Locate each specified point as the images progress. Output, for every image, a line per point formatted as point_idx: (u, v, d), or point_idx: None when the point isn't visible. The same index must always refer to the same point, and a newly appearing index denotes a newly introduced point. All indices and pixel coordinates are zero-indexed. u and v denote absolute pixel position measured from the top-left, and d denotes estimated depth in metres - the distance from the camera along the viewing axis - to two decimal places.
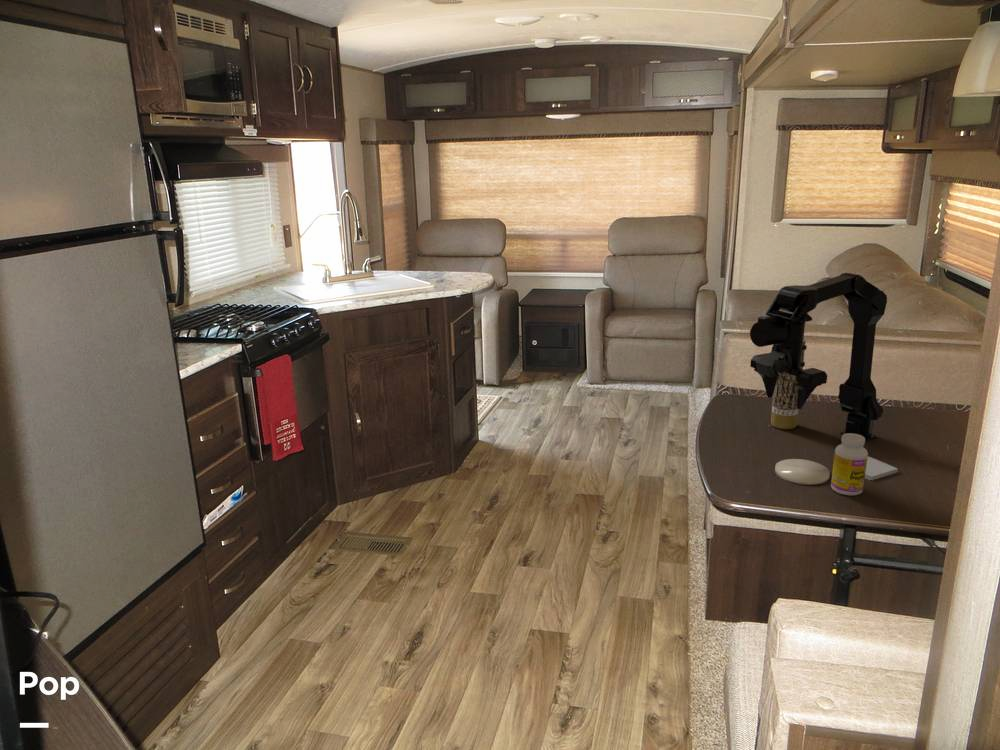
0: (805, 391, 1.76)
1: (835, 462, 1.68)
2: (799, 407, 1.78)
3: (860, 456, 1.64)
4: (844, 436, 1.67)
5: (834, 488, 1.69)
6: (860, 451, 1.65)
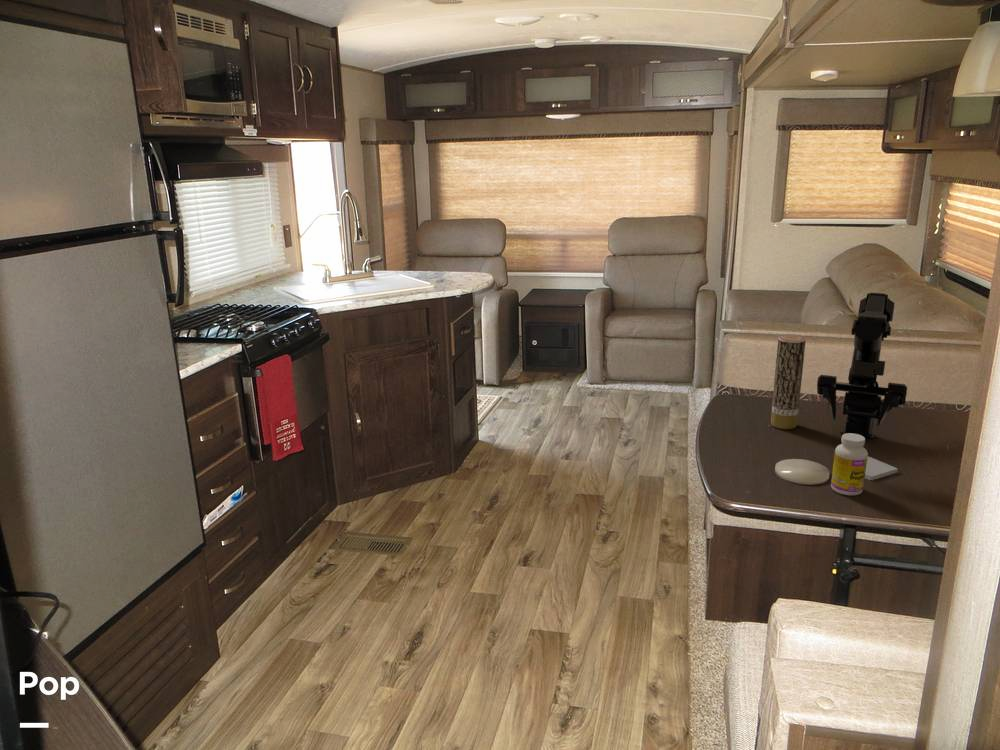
0: None
1: (835, 462, 1.68)
2: (880, 423, 1.71)
3: (860, 456, 1.64)
4: (844, 436, 1.67)
5: (834, 488, 1.69)
6: (860, 451, 1.65)
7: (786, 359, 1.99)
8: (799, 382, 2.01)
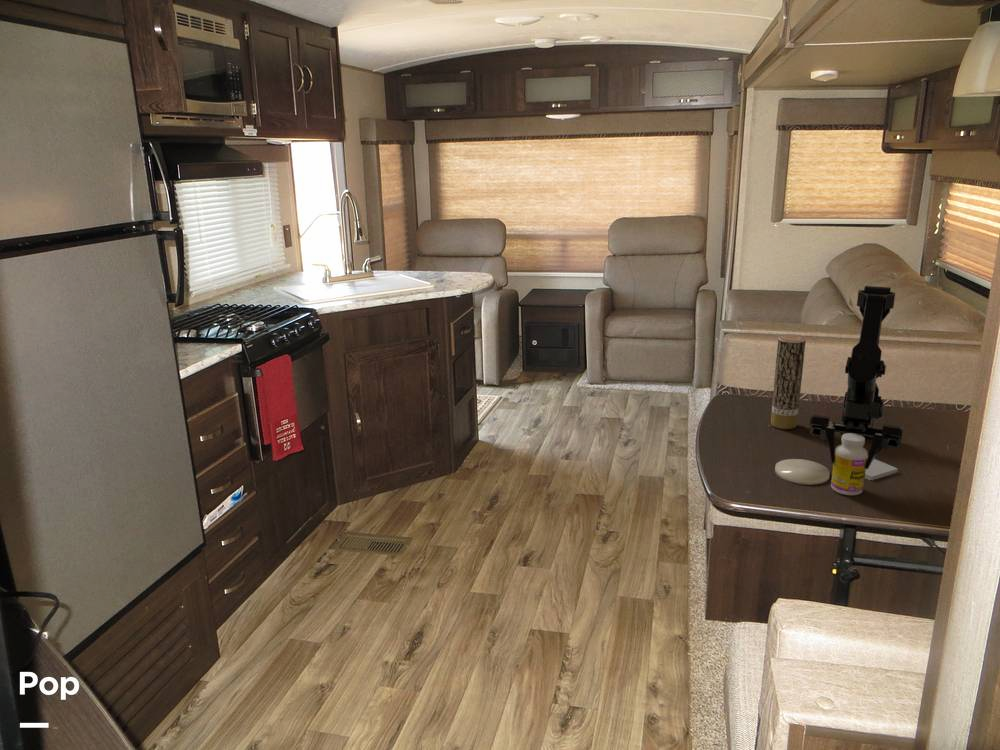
0: None
1: (835, 462, 1.68)
2: (868, 466, 1.65)
3: (860, 456, 1.64)
4: (844, 436, 1.67)
5: (834, 488, 1.69)
6: (860, 451, 1.65)
7: (786, 359, 1.99)
8: (799, 382, 2.01)
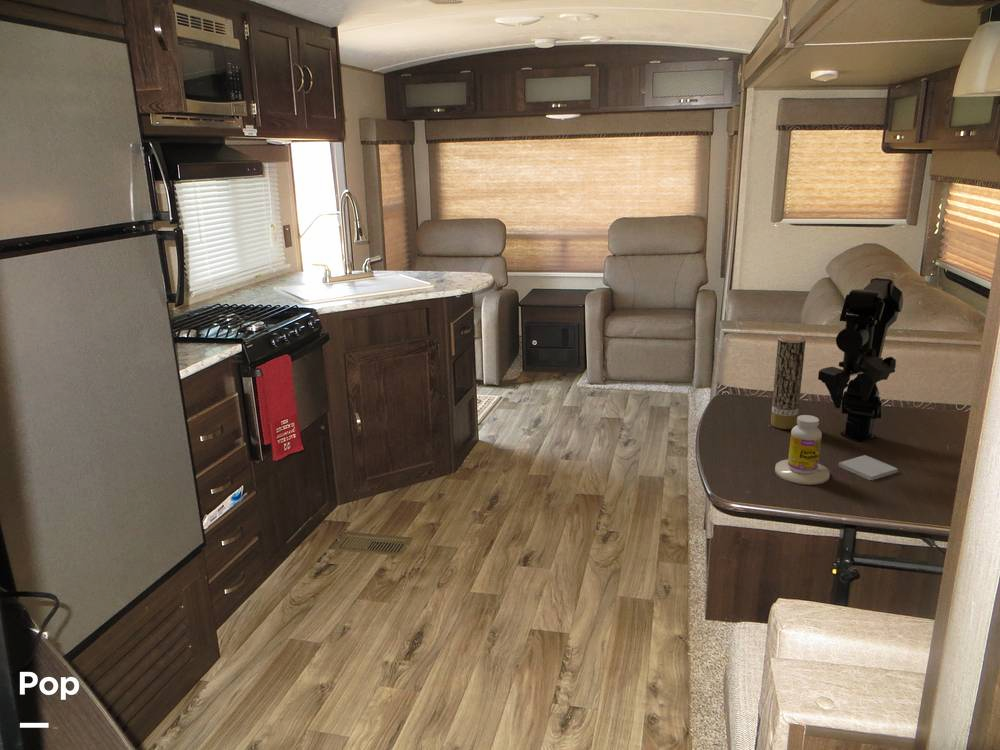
0: None
1: (790, 440, 1.78)
2: None
3: (809, 436, 1.73)
4: (799, 417, 1.76)
5: (788, 465, 1.79)
6: (811, 432, 1.73)
7: (786, 359, 1.99)
8: (799, 382, 2.01)
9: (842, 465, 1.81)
